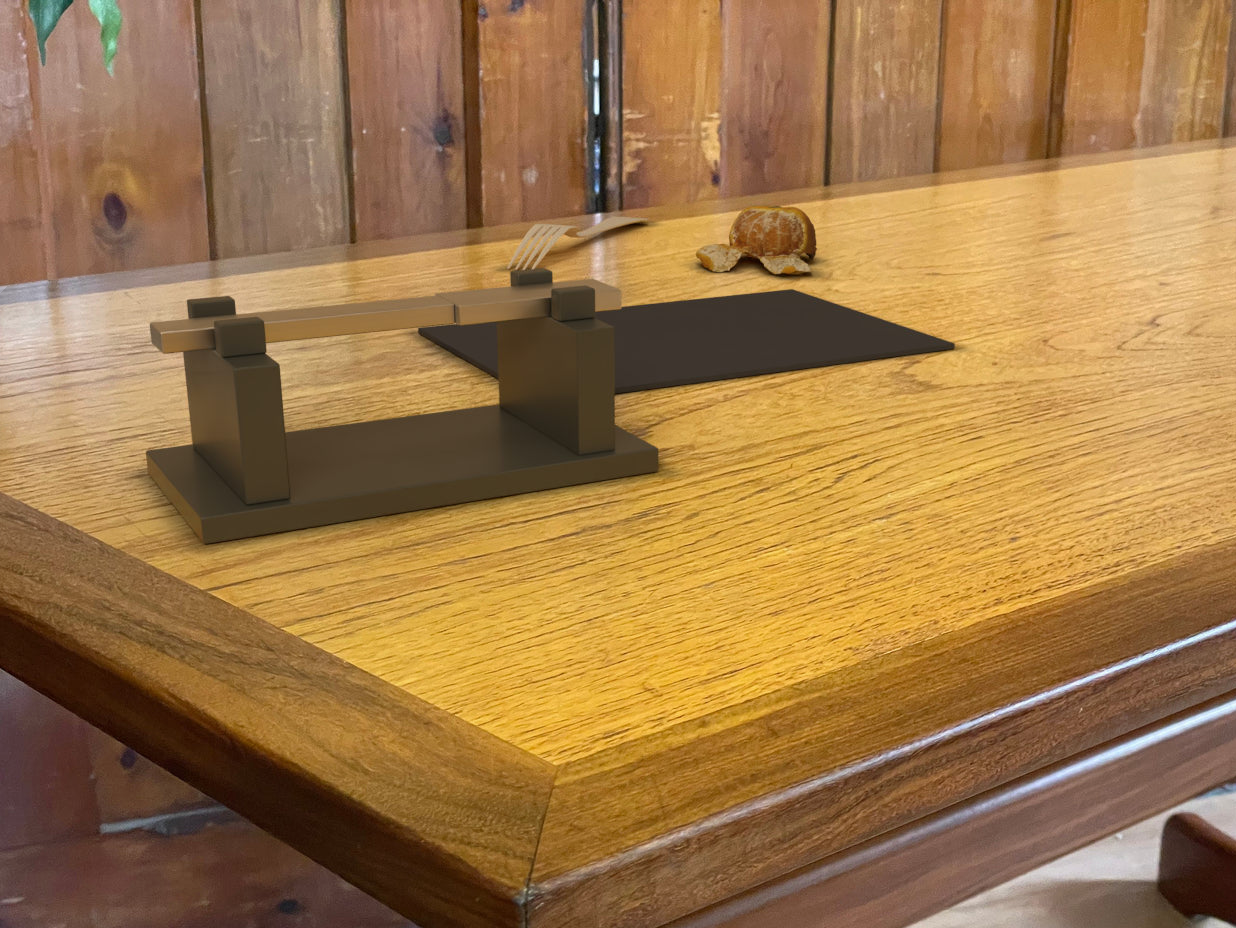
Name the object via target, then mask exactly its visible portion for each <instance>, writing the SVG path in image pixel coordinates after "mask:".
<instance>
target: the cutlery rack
mask: <svg viewBox="0 0 1236 928" xmlns="http://www.w3.org/2000/svg"><path fill="white" fill-rule="evenodd" d="M509 274H510V275H509V276H510V279H509V281H510V286H521V285H531V284H542V283H553V282H554V280H553V271H552V270H550V269H548V268H545V267H543V268H540V267H539V268H534V269H531V268H528V269H525V270H523V269H519V270H518V269H517V270H512V271H511V270H510V272H509ZM551 305H552V316H549V317H540V318H530V319H520V320H511V321H501V322H497V347H498V377H499V379H498V404H489V405H484V406H474V407H468V408H467V407H466V408H460V409H459V408H458V409H454V410H445V411H444V410H443V411H437V412H430V413H423V414H422V413H421V414H413V415H407V416H400V417H398V416H397V417H391V418H385V419H377V420H376V419H375V420H367V421H362V422H353V423H347V424H338V425H330V426H322V427H315V428H308V429H300V430H292V431H286V425H285V424H286V423H285V412H284V402H283V389H282V378H281V364H280V363H279V362H277V361H276V360H274V359H273V358H272V357H271V356H269V355H268V354H267V351H268V350H267V343H266V337H265V325H264V321H263V320H262V319H260V318H259V317H248V318H238V319H227V320H217V321H214V330H215V341H216V349H207V350H197V351H187V352H182V355H183V365H184V374H185V384H186V393H187V394H186V395H187V405H188V412H189V413H188V415H189V423H190V433H191V443H192V444H185V445H177V446H171V447H162V448H153V449H147V450H145V459H146V468H147V474H148V475H149V477H150V478H151V479H152V480H153V482H154V483H155V484H156V486H157V487H158V488H159V489H160V491H161V492H162V493H163V494H164V496H165V497H166V498H167V499H168V501H169V502H170V504H172V506H173V507H174V508H175V509H176V510H177V512H178V513H179V514H180V516H181V517H182V518H183V520H184V521H185V522H186V523H187V525H188V526H189V527H190V528H191V529H192V531H193V532H194V533H195V535H196V536H197V537H198V539H199V540H200V541H201V542H202V543H203V544H204V545H207V544H214V543H220V542H227V541H233V540H238V539H246V538H251V537H258V536H265V535H270V534H277V533H283V532H290V531H296V530H302V529H308V528H314V527H320V526H326V525H327V526H328V525H333V524H338V523H345V522H346V523H347V522H351V521H358V520H365V519H369V518H376V517H383V516H388V515H393V514H400V513H407V512H413V511H419V510H425V509H426V510H427V509H430V508H439V507H444V506H450V505H458V504H462V503H468V502H469V503H471V502H477V501H482V500H488V499H494V498H501V497H506V496H513V495H519V494H526V493H532V492H537V491H538V492H539V491H544V490H549V489H551V490H552V489H558V488H563V487H568V486H569V487H570V486H574V485H582V484H587V483H595V482H601V481H607V480H613V479H618V478H619V479H620V478H625V477H629V476H630V477H631V476H637V475H645V474H649V473H656V472H657V473H658V471H659V448H658V447H657V446H655V445H653V444H651V443H650V442H648V441H646V440H644V439H642V438H640V437H639V436H637V435H634V434H633V433H632V432H630V431H628V430H626V429H624V428H623V427H620V426H619V425H617V424H616V400H615V399H616V394H615V375H614V327H613V326H611V325H608V324H606V323H604V322H602V321H599V320H597V319H595V289H594V288H591V287H589V286H586V285H585V286H574V287H564V288H553V289H552V290H551ZM186 307H187V317H188V318H187V319H193V318H204V317H215V316H225V315H236V314H237V309H236V308H237V307H236V300H235V299H234V298H233V297H231V296H230V295H224V296H223V295H222V296H212V297H201V298H189V299H187V300H186Z"/></svg>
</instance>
